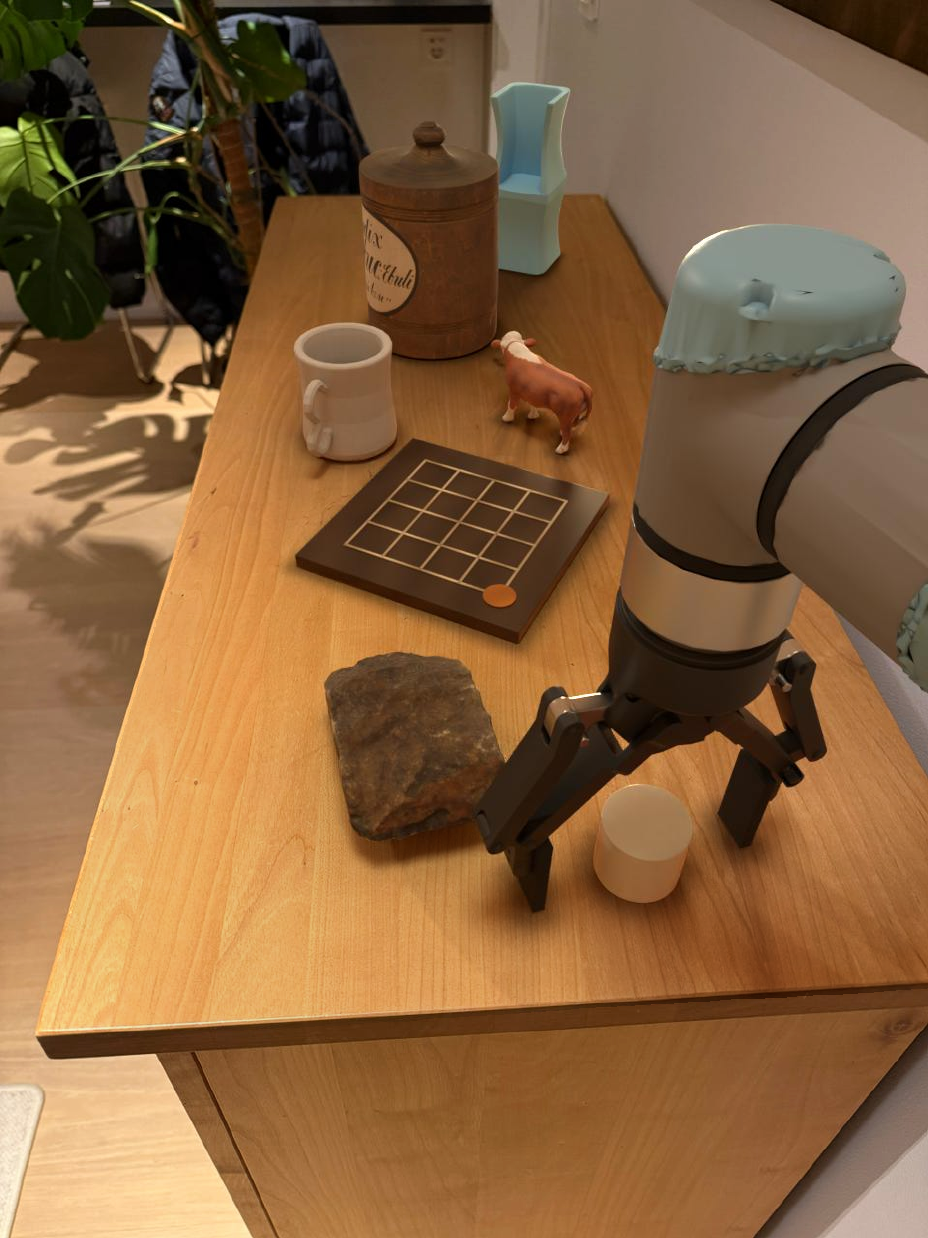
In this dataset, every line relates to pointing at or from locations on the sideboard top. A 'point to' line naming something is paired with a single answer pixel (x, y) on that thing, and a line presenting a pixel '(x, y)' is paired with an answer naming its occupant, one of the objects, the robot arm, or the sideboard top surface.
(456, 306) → the wooden container
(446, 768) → the stone
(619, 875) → the white short cylinder
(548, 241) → the blue toy chair
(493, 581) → the grid board
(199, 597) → the sideboard top surface
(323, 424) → the mug
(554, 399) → the bull figurine
